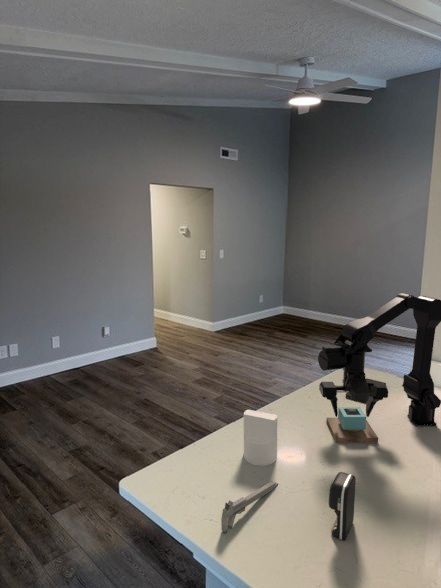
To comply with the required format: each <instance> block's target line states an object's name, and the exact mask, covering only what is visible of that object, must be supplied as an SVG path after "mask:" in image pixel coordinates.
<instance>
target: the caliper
mask: <svg viewBox="0 0 441 588" xmlns="http://www.w3.org/2000/svg"><path fill="white" fill-rule="evenodd" d="M278 485H279V483H278V482H276V481H274V480H272V481H270V482H268V483H266V484H264V485H263V486H262V487H260V488H258V489H256V490H255V491H253V492H251V493H250V494H248V495H247V496H245V497H243V496H242V497H240V498H238V499H237V500H235V501H232V500H228V502H225V503H224V507H223V508H222V513H221V518H220V519H221V531H222V532H223V533H226V534H227V532H228V529H230V530H232V528H233V525H234V524H235V523H234V522H235V519H236V515H237V514H238V515H240V514H242V512H245V511H246V507H248V506H249V505H251V504H252V503H254V502H255V501H257V500H259V499H261V498H262V497H263V496H266V495H267V494H269V493H270V492H272V491H273V490H274V489H275V488H276V486H278Z"/></svg>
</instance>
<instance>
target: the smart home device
mask: <svg viewBox="0 0 441 588" xmlns="http://www.w3.org/2000/svg"><path fill="white" fill-rule="evenodd" d="M365 379H366V382H382V383H383V384H384V386H385V387H386V388H387V383H386V382H384V381H380V380H376V379H372V378H368V377H367V378H366V377H365ZM345 399H348V400H351V396H350V394H349V392H345ZM358 402H360V403H363V404H366V401H358Z"/></svg>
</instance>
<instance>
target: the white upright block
mask: <svg viewBox="0 0 441 588" xmlns="http://www.w3.org/2000/svg"><path fill="white" fill-rule="evenodd" d="M243 457H244V460H245V461H246V462H247V463H249V464H250V465H255V466H269V465H271V464H273V463H274V462H276V460H277V457H278V414H273V413H269V412H268V413H267V412H263V411H258V410H252V409H246V410H244V412H243Z"/></svg>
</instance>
